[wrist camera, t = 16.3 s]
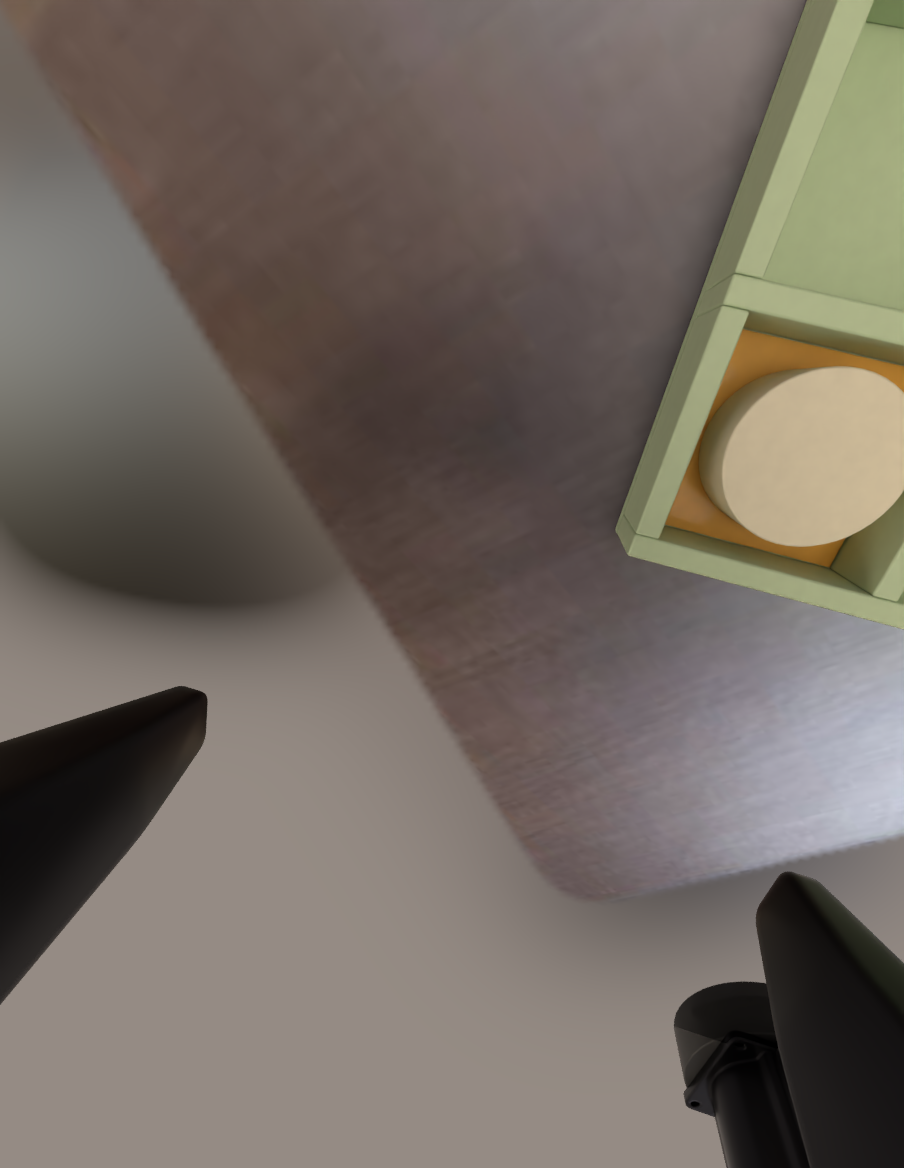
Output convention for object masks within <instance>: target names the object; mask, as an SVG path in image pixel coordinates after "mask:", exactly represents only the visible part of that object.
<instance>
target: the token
mask: <svg viewBox="0 0 904 1168" xmlns="http://www.w3.org/2000/svg"><path fill="white" fill-rule="evenodd" d="M699 473H700V478H701V482H702V485H703V487H704V490H705V492H706V493H707V495H708V497H709V498H710V500H711V501H712V502H713V503H714V505H715V506H716V507H717V508H718V509H720V510H721V511H722V512H723V513H725V514H726V515H727V516H729V517H730V518H732V519H733V520H734V521H736V522H737V523H739V524H740V525H742V526H743V527H744V528H746V529H747V530H749V531H750V532H752V533H753V534H755V535H756V536H758V537H760V538H762V539H764V540H766V541H769V542H772V543H776V544H780V545H785V546H795V547H806V546H816V545H823V544H827V543H831V542H835V541H838V540H841V539H843V538H846V537H849V536H851V535H853V534H855V533H857V532H859V531H861V530H862V529H864V528H865V527H867V526H869V525H870V524H872V523H873V522H874V521H876V520H877V519H878V518H879V517H881V516H882V515H883V514H884V513H885V512H886V511H887V510H888V509H889V508H890V507H891V506H892V505H893V504H894V503H895V502H896V500H897V499H898V498H899V497H900V495H901V494H902V492H903V491H904V392H903V391H902V390H901V389H900V388H899V387H898V386H897V385H895V384H894V383H893V382H891V381H890V380H888V379H887V378H885V377H883V376H881V375H879V374H877V373H875V372H872V371H869V370H866V369H862V368H856V367H848V366H833V367H819V368H806V369H793V370H784V371H779V372H775V373H771V374H768V375H766V376H763V377H760V378H758V379H756V380H754V381H752V382H750V383H749V384H747V385H745V386H744V387H742V388H741V389H739V390H738V391H737V392H735V393H734V394H733V395H732V396H731V397H730V398H729V399H728V400H727V401H726V402H725V403H724V404H723V405H722V406H721V407H720V408H719V409H718V411H717V412H716V413H715V415H714V416H713V418H712V419H711V421H710V423H709V425H708V427H707V429H706V431H705V433H704V436H703V439H702V442H701V446H700V451H699Z"/></svg>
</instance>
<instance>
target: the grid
mask: <svg viewBox="0 0 904 1168" xmlns="http://www.w3.org/2000/svg"><path fill="white" fill-rule="evenodd" d="M833 366H848V367H856V368H862V369H866V370H869V371H872V372H875V373H877V374H879V375H881V376H883V377H885V378H887V379H888V380H890V381H891V382H893V383H894V384H895V385H897V386H898V387H899V388H900V389H901V390H902V391H903V392H904V0H807V2H806V4H805V7H804V10H803V13H802V15H801V18H800V21H799V24H798V26H797V29H796V32H795V35H794V37H793V40H792V43H791V46H790V48H789V51H788V54H787V57H786V60H785V62H784V65H783V68H782V71H781V73H780V76H779V79H778V82H777V84H776V87H775V90H774V93H773V95H772V98H771V101H770V104H769V106H768V109H767V112H766V115H765V117H764V120H763V123H762V126H761V128H760V131H759V134H758V137H757V139H756V142H755V145H754V148H753V151H752V153H751V156H750V159H749V162H748V164H747V167H746V170H745V173H744V175H743V178H742V181H741V184H740V186H739V189H738V192H737V195H736V197H735V200H734V203H733V206H732V208H731V211H730V214H729V217H728V219H727V222H726V225H725V228H724V230H723V233H722V236H721V239H720V242H719V244H718V247H717V250H716V253H715V255H714V258H713V261H712V264H711V266H710V269H709V272H708V275H707V277H706V280H705V283H704V286H703V288H702V291H701V294H700V297H699V299H698V302H697V305H696V308H695V310H694V313H693V316H692V319H691V321H690V324H689V327H688V330H687V333H686V335H685V338H684V341H683V344H682V346H681V349H680V352H679V355H678V357H677V360H676V363H675V366H674V368H673V371H672V374H671V377H670V379H669V382H668V385H667V388H666V390H665V393H664V396H663V399H662V401H661V404H660V407H659V410H658V412H657V415H656V418H655V421H654V424H653V426H652V429H651V432H650V435H649V437H648V440H647V443H646V446H645V448H644V451H643V454H642V457H641V459H640V462H639V465H638V468H637V470H636V473H635V476H634V479H633V481H632V484H631V487H630V490H629V492H628V495H627V498H626V501H625V503H624V506H623V509H622V512H621V515H620V517H619V520H618V523H617V526H616V528H615V531H616V533H617V534H618V536H619V538H620V540H621V542H622V544H623V546H624V548H625V551H626V553H627V555H629V556H631V557H635V558H639V559H643V560H646V561H650V562H654V563H658V564H661V565H665V566H669V567H673V568H676V569H680V570H684V571H687V572H691V573H695V574H699V575H702V576H706V577H710V578H714V579H717V580H721V581H725V582H729V583H732V584H736V585H740V586H744V587H747V588H751V589H755V590H758V591H762V592H766V593H770V594H773V595H777V596H781V597H785V598H788V599H792V600H796V601H800V602H803V603H807V604H811V605H814V606H818V607H822V608H826V609H829V610H833V611H837V612H841V613H844V614H848V615H852V616H856V617H859V618H863V619H867V620H871V621H874V622H878V623H882V624H885V625H889V626H893V627H897V628H900V629H904V491H903V492H902V494H901V495H900V497H899V498H898V499H897V500H896V502H895V503H894V504H893V505H892V506H891V507H890V508H889V509H888V510H887V511H886V512H885V513H884V514H883V515H882V516H881V517H879V518H878V519H877V520H876V521H874V522H873V523H872V524H870V525H869V526H867V527H865V528H864V529H862V530H861V531H859V532H857V533H855V534H853V535H851V536H849V537H846V538H843V539H841V540H838V541H835V542H831V543H827V544H823V545H816V546H806V547H795V546H785V545H780V544H776V543H772V542H769V541H766V540H764V539H762V538H760V537H758V536H756V535H755V534H753V533H752V532H750V531H749V530H747V529H746V528H744V527H743V526H742V525H740V524H739V523H737V522H736V521H734V520H733V519H732V518H730V517H729V516H727V515H726V514H725V513H723V512H722V511H721V510H720V509H718V508H717V507H716V506H715V505H714V503H713V502H712V501H711V500H710V498H709V497H708V495H707V493H706V492H705V490H704V487H703V485H702V482H701V478H700V473H699V451H700V446H701V442H702V439H703V436H704V433H705V431H706V429H707V427H708V425H709V423H710V421H711V419H712V418H713V416H714V415H715V413H716V412H717V411H718V409H719V408H720V407H721V406H722V405H723V404H724V403H725V402H726V401H727V400H728V399H729V398H730V397H731V396H732V395H733V394H734V393H735V392H737V391H738V390H739V389H741V388H742V387H744V386H745V385H747V384H749V383H750V382H752V381H754V380H756V379H758V378H760V377H763V376H766V375H768V374H771V373H775V372H779V371H784V370H793V369H806V368H819V367H833Z"/></svg>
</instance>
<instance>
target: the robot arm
mask: <svg viewBox="0 0 904 1168" xmlns="http://www.w3.org/2000/svg"><path fill="white" fill-rule="evenodd" d="M206 719H207V696H206V695H205V693H203V692H201V691H198V690H195V689H191V688H188V687H185V686H178V687H174V688H171V689H168V690H165V691H162V692H158V693H155V694H152V695H149V696H146V697H143V698H139V699H137V700H133V701H130V702H127V703H124V704H121V705H117V706H114V707H111V708H108V709H105V710H102V711H99V712H95V713H92V714H89V715H86V716H83V717H80V718H77V719H73V720H70V721H67V722H64V723H61V724H57V725H54V726H51V727H48V728H45V729H42V730H39V731H35V732H32V733H29V734H26V735H23V736H20V737H17V738H13V739H11V740H7V741H4V742H1V743H0V1004H1V1003H2V1002H3V1001H4V1000H5V998H6V997H7V996H8V995H9V994H10V992H11V991H12V990H13V989H14V988H15V986H16V985H17V984H18V983H19V982H20V980H21V979H22V978H23V977H24V976H25V974H26V973H27V972H28V971H29V970H30V968H31V967H32V966H33V965H34V963H35V962H36V961H37V960H38V959H39V957H40V956H41V955H42V954H43V953H44V952H45V950H46V949H47V948H48V947H49V946H50V944H51V943H52V942H53V941H54V939H55V938H56V937H57V936H58V935H59V934H60V932H61V931H62V930H63V929H64V928H65V926H66V925H67V924H68V923H69V922H70V920H71V919H72V918H73V917H74V916H75V914H76V913H77V912H78V911H79V909H80V908H81V907H82V906H83V905H84V904H85V902H86V901H87V900H88V899H89V898H90V896H91V895H92V894H93V893H94V892H95V890H96V889H97V888H98V887H99V886H100V884H101V883H102V882H103V881H104V880H105V878H106V877H107V876H108V875H109V874H110V872H111V871H112V870H113V869H114V867H115V866H116V865H117V864H118V863H119V862H120V860H121V859H122V858H123V857H124V856H125V854H126V853H127V852H128V851H129V849H130V848H131V847H132V846H133V844H134V843H135V842H136V841H137V839H138V838H139V837H140V836H141V834H142V833H143V831H144V830H145V829H146V827H147V826H148V825H149V823H150V822H151V820H152V819H153V817H154V816H155V815H156V813H157V812H158V810H159V809H160V807H161V806H162V804H163V803H164V801H165V800H166V798H167V797H168V795H169V794H170V793H171V791H172V790H173V788H174V787H175V785H176V784H177V782H178V781H179V779H180V778H181V776H182V775H183V773H184V772H185V771H186V769H187V768H188V766H189V764H190V763H191V762H192V760H193V759H194V757H195V756H196V754H197V753H198V751H199V750H200V748H201V746H202V744H203V742H204V739H205V735H206ZM756 927H757V933H758V938H759V944H760V950H761V955H762V961H763V966H764V972H765V977H766V984H767V989H768V995H769V1001H770V1006H771V1012H772V1018H773V1023H774V1028H775V1033H776V1038H777V1043H775V1042H772V1041H769V1040H766V1039H763V1038H760V1037H757V1036H754V1035H751V1034H748V1033H745V1032H742V1031H730V1032H729V1033H727V1035H726V1036H725V1037H724V1039H723V1040H722V1041H721V1043H720V1044H719V1045H718V1047H717V1048H716V1049H715V1051H714V1052H713V1054H712V1055H711V1056H710V1058H709V1059H708V1060H707V1062H706V1063H705V1064H704V1066H703V1067H702V1068H701V1070H700V1071H699V1072H698V1074H697V1075H696V1077H695V1078H694V1079H693V1081H692V1082H691V1083H690V1085H689V1086H688V1087H687V1089H686V1090H685V1091H684V1098H685V1103H686V1106H687V1107H689V1108H691V1109H693V1110H696V1111H699V1112H702V1113H705V1114H708V1115H710V1116H713V1117H715V1120H716V1124H717V1128H718V1133H719V1137H720V1141H721V1145H722V1149H723V1154H724V1158H725V1163H726V1167H727V1168H904V963H903V962H902V961H901V960H900V959H899V958H898V957H897V956H896V955H895V954H894V953H892V952H891V951H890V950H889V949H888V948H887V947H886V946H885V945H884V944H883V943H882V942H881V941H880V940H879V939H878V938H877V937H876V936H875V935H874V934H873V933H872V932H871V931H870V930H869V929H867V927H866V926H864V925H863V924H862V923H861V922H860V921H859V920H858V919H857V918H856V917H855V916H854V915H853V914H852V913H851V912H850V911H849V910H848V909H847V908H846V907H845V906H844V905H843V904H842V903H841V902H840V901H839V900H837V899H836V898H835V897H834V896H833V895H832V894H831V893H830V892H829V891H828V890H827V889H826V888H825V887H824V886H823V885H822V884H821V883H820V882H818V881H817V880H815V879H813V878H810V877H807V876H803V875H800V874H796V873H793V872H784V873H782V874H780V875H779V877H778V878H777V880H776V881H775V883H774V884H773V885H772V887H771V888H770V890H769V892H768V893H767V894H766V896H765V897H764V899H763V900H762V902H761V903H760V905H759V907H758V910H757V914H756Z"/></svg>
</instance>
